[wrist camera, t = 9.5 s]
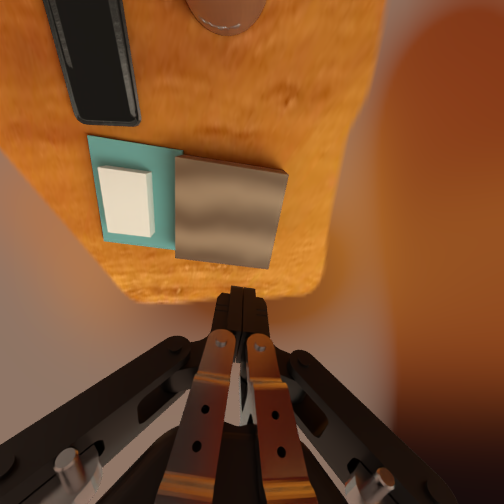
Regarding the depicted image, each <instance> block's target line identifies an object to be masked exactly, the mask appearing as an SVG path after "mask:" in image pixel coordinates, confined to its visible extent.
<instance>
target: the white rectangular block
mask: <svg viewBox="0 0 504 504" xmlns="http://www.w3.org/2000/svg"><path fill="white" fill-rule="evenodd" d="M98 174H99V180H100V186H101V192H102V199H103V205H104V211H105V217H106V224H107V230H108V232H110V233H118V234H127V235H135V236H143V237H151V236H152V235H153V234H154V233H155V221H154V203H153V186H152V172H149V171H142V170H135V169H128V168H121V167H114V166H107V165H106V166H101V167H98Z"/></svg>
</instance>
